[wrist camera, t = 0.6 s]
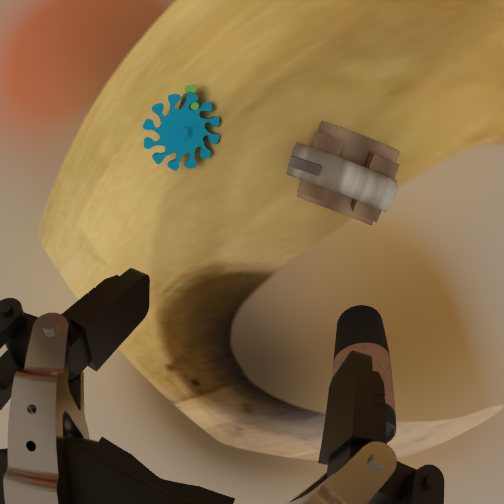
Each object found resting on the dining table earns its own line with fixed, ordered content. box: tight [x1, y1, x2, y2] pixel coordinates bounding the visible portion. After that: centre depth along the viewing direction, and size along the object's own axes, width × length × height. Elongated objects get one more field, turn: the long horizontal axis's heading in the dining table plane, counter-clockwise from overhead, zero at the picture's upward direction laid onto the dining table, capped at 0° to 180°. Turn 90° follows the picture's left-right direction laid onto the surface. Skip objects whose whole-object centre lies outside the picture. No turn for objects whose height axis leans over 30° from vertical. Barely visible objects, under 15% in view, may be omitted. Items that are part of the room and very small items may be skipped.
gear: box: [143, 85, 220, 171], centre depth 33 cm, size 11×6×10 cm
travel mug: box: [332, 305, 396, 443], centre depth 31 cm, size 8×8×20 cm
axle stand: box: [287, 121, 399, 225], centre depth 29 cm, size 12×10×8 cm
